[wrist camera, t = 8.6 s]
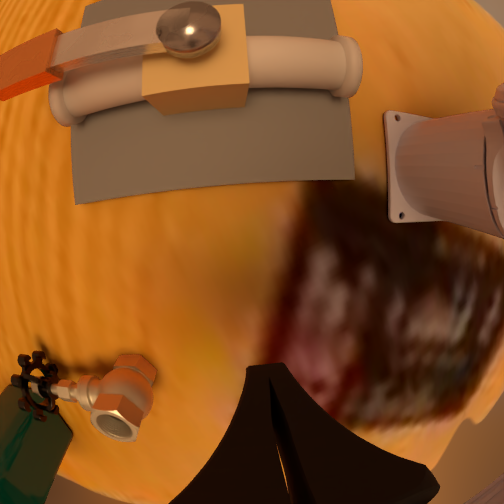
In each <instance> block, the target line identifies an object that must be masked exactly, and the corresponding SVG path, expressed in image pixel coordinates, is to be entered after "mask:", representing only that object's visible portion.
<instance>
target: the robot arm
mask: <svg viewBox="0 0 504 504" xmlns="http://www.w3.org/2000/svg"><path fill="white" fill-rule="evenodd" d="M492 105H493V108H494V109H490V110H483V111H476V112H470V113H463V114H458V115H452V116H447V117H441V118H436V119H433V118H429V117H424V116H419V115H414V114H409V113H403V112H397V111H391V110H390V111H386V112H385V113H384V125H385V136H386V149H387V167H388V218H389V220H390V221H391V222H394V223H402V222H424V221H448V222H451V223H455V224H458V225H462V226H465V227H468V228H472V229H475V230H478V231H481V232H485V233H488V234H491V235H494V236H497V237H500V238H503V239H504V83H502V84H501V85H499V86H498V87H497V89H496V93H495V96H494V97H493V99H492ZM395 116H396V117H397V119H398V121H396V120H395ZM400 212H401V213H402V216H401V218H399V214H400ZM276 444H277V445H276ZM277 447H278V449H277ZM278 451H279V453H278ZM279 454H280V458H281V461H282V464H283V468H284V472H285V476H286V481H287V486H286V482H285V478H284V474H283V470H282V466H281V462H280V458H279ZM287 487H288V490H287ZM439 489H440V485H439V484H438V482H437V480H436V478H435V477H434V475H433V474H432V473H431V471H430V470H429V469H428V468H427V467H426V465H424V464H420V463H417V462H414V461H411V460H407V459H404V458H401V457H399V456H396V455H394V454H391V453H389V452H387V451H385V450H382V449H380V448H378V447H377V446H375V445H373V444H371V443H369V442H367V441H366V440H364V439H362V438H360V437H359V436H357V435H355V434H354V433H352V432H351V431H350V430H348V429H347V428H345V427H344V426H343V425H341V424H340V423H339V422H337V421H336V420H335V419H334V418H332V417H331V416H330V415H329V414H328V413H327V412H325V411H324V410H323V409H322V408H321V407H320V406H319V405H318V404H317V403H316V402H315V401H314V400H313V399H312V398H311V397H310V396H309V395H308V394H307V392H306V391H305V390H304V389H303V388H302V387H301V386H300V384H299V383H298V382H297V381H296V379H295V378H294V377H293V375H292V374H291V373H290V371H289V370H288V368H287V367H286V365H285V364H284V363H282V362H281V363H273V364H264V365H254V366H249V367H247V368H246V378H245V384H244V388H243V391H242V394H241V397H240V400H239V403H238V406H237V409H236V411H235V414H234V416H233V418H232V420H231V423H230V425H229V427H228V429H227V431H226V433H225V435H224V436H223V438H222V440H221V442H220V443H219V445H218V447H217V448H216V450H215V451H214V453H213V454H212V456H211V457H210V459H209V460H208V461H207V463H206V464H205V465H204V467H203V468H202V469H201V470H200V472H199V473H198V474H197V475H196V476H195V478H194V479H193V480H192V481H191V482H190V483H189V484H188V486H187V487H186V488H185V489H184V490H183V491H182V492H181V493H179V494H178V495H177V496H176V497H175V498H174V499H173V500H172V501H171V502H170V503H169V504H427V503H428V502H429V501H431V500H432V498H434V497H435V495H436V494H437V493H438V491H439ZM288 492H289V493H288ZM464 504H504V473H503V474H502V475H501V476H499V477H498V478H497V479H496V480H495V481H493V482H492V483H491V484H490V485H488V486H487V487H486V488H484V489H483V490H482V491H481V492H479V493H478V494H476V495H475V496H474V497H472V498H471V499H469V500H468V501H467V502H465V503H464Z"/></svg>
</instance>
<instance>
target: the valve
mask: <svg viewBox="0 0 504 504" xmlns="http://www.w3.org/2000/svg"><path fill="white" fill-rule="evenodd" d="M30 359H31V357H30V356H29V355H25V354H20V355H19V356H18V363H19V365H20V366H21V367H22V373H21V375H17V374H13V375H12V376H11V383H12V385H13V386H14V387H17V388H20V389H21V392H22V398H19V400H18V407H19V408H20V409H21V410H23V411H26V412H31V411H32V410H31V409H30V406H31V407H32V408H33V417H34V419H35V420H37V421H40V422H46V420H47V416H44V415H43V410H44V411H47V412H48V413H50V414H54V415H57V414H58V413H59V407H58V405H55V400H56V399H58V398H61V399H62V400H64V401H69V402H77V401H79V403H80V405H81V407H82V408H83V409H85V410H86V411H91V423H92V424H93V425H94V427H95V428H96V429H98V430H99V431H100V432H101V433H102V434H104V435H106V436H107V437H109V438H111V439H114V440H117V441H122V442H134V441H136V438H137V434H138V431H139V427H140V424H141V420H143V419H144V418H145V417H146V416H147V415H148V414H149V412H150V410H151V408H152V405H153V392H152V385H153V382H154V379H155V376H156V373H157V370H156V369H155V368H154V367H153V366H152V365H151V364H150V363H149V362H148V361H147V360H146V359H145V358H144V357H143V356H141V355H139V354H130V355H119V357H118V359H117V361H116V362H115V364H114V366H113V370H112V371H110V372H109V373H107V374H106V375H105V376H104V378H103V379H102V380H100V378H99V377H97V376H92V375H83V376H82V377H81V378H80V379H79V381H78V383H75V382H74V381H72V380H63V379H61V380H60V381H59V382H58V380H59V378H58V376H57V373H58V369H57V367H56V365H55V364H50V363H47V364H46V365H44V364H42V360H43V359H46V356H45V353H44V352H43V351H33V353H32V359H33V361H32V362H29V360H30ZM36 368H38V369H39V370H40V371H41V372H42V373H43V374H44V376H45V377H44V376H40V377H37V376H33V375H30V373H31V372H32V370H34V369H36ZM28 382H31V387H32V391H33V392H34V393H35V394H37V395H39V396H41V397H42V398H45V400H44V401H43V402H42V403H40V404H37V403H36V402H35V401H34V400H33V399H32V397H31V395H30V393H29V389H28Z"/></svg>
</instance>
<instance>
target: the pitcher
mask: <svg viewBox="0 0 504 504" xmlns="http://www.w3.org/2000/svg"><path fill="white" fill-rule="evenodd" d="M29 393H30V395H31V397H32V399H33V400H34V401H35V402H36V403H37V404H40V403H42V402H43V401H44V400H45V398H42V397H41V396H39V395H37V394H35V393H34V392H33V391H32V389H29ZM19 398H22V392H21V389H20V388H17V387H14V386H11V385H9V386H7V387H6V388H5V389H4V390H3V392H2V393H1V394H0V504H45V501H46V499H47V496H48V494H49V491H50V488H51V486H52V483H53V481H54V479H55V476H56V474H57V471H58V469H59V467H60V464H61V462H62V460H63V458H64V455H65V453H66V451H67V449H68V447H69V444H70V442H71V440H72V438H73V435H72V432H71V430H70V429H69V428H68V427H67V425H66V424H65V422H64V421H63V420H62V418H61V417H60V416H59V414H57V415H54V414H50V413H48V412H47V411H44V410H43V415H44V416H47V420H46V422H40V421H37V420H35V419H34V417H33V408H32V407H31V406H30V409H31V410H32V411H31V412H26V411H23V410H21V409H20V408H19V407H18V400H19Z"/></svg>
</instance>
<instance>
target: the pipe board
mask: <svg viewBox="0 0 504 504" xmlns="http://www.w3.org/2000/svg"><path fill="white" fill-rule="evenodd" d="M190 1H198V2H204V3H207V4H210V5H211V6H213V7H214V8H215V9H216V10H217V11H218V12H219V14H220V17H221V37H220V40H219V42H218V43H217V45H216V46H215V47H214V48H213V49H211V50H210V51H209V52H207V53H205V54H203V55H201V56H198V57H193V58H178V57H175V56H172V55H170V54H169V53H167V52H163V53H153V54H145V55H138V56H131V57H125V58H120V59H114V60H109V61H104V62H100V63H95V64H91V65H87V66H83V67H79V68H76V69H72V70H68V71H65V72H64V74H63V79H62V80H60V81H57V82H54V83H50V85H49V104H50V108H51V111H52V114H53V116H54V117H55V119H56V120H57V121H58V123H60V124H61V125H62V126H66V127H68V126H71V155H72V174H73V187H74V197H75V205H78V204H83V203H89V202H95V201H100V200H106V199H112V198H119V197H125V196H132V195H139V194H146V193H153V192H161V191H169V190H178V189H187V188H196V187H206V186H217V185H229V184H242V183H257V182H275V181H298V180H355V170H354V152H353V138H352V127H351V116H350V107H349V99H348V98H350V97H352V96H354V95H355V93H356V92H357V90H358V88H359V86H360V83H361V79H362V72H363V61H362V54H361V50H360V48H359V45H358V43H357V42H356V41H355V40H354V39H353V38H351V37H346V36H340V35H338V31H337V27H336V22H335V18H334V13H333V9H332V5H331V1H330V0H101V1H99V2H96V3H93V4H91V5H88V6H86V7H85V11H84V15H83V20H82V24H81V28H82V27H86V26H89V25H92V24H96V23H100V22H104V21H108V20H112V19H116V18H120V17H125V16H130V15H136V14H141V13H147V12H154V11H162V10H168V9H170V8H171V7H173V6H175V5H178V4H180V3H184V2H190Z"/></svg>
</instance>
